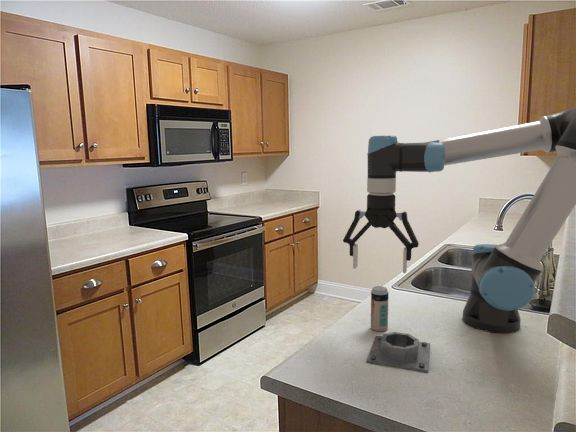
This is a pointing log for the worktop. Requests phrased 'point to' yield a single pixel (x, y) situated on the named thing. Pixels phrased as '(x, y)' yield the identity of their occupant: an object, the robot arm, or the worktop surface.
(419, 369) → the duct flange
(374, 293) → the beer can
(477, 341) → the worktop surface
